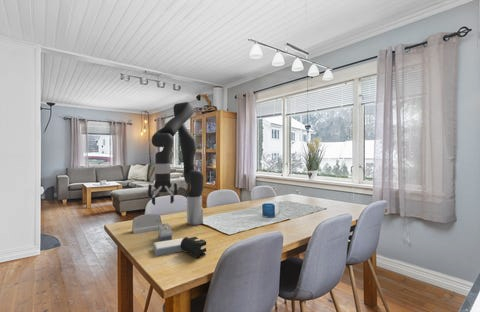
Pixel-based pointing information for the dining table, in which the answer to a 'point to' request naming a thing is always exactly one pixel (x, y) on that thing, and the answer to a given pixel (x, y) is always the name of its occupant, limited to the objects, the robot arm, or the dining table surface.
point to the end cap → (193, 246)
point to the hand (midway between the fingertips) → (162, 203)
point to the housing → (164, 232)
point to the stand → (167, 247)
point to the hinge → (146, 223)
